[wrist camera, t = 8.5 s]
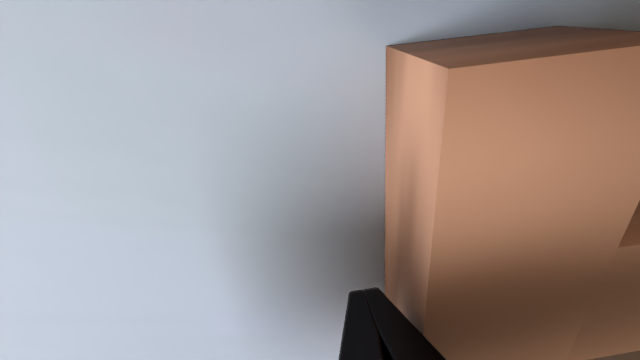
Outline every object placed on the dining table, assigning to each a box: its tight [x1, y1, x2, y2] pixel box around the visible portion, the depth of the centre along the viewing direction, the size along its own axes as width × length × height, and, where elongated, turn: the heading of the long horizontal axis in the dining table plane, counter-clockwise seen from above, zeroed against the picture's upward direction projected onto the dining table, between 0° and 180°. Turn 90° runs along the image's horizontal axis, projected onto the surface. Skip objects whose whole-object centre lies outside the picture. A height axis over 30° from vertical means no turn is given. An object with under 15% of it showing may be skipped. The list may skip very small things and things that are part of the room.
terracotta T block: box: [385, 26, 640, 360], centre depth 9 cm, size 12×12×3 cm
